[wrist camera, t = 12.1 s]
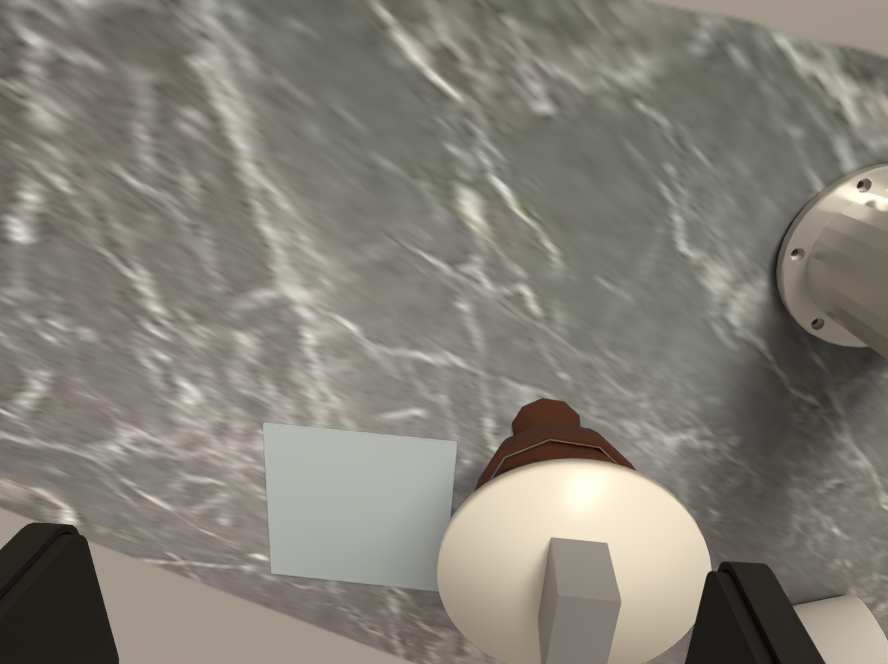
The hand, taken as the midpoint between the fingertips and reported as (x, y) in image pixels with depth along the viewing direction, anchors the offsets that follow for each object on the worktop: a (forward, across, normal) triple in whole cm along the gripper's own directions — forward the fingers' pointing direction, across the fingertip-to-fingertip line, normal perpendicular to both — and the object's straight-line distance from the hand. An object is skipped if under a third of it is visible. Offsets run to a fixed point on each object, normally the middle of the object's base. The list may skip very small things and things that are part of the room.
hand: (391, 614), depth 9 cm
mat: (+36, +8, +28) cm, 46 cm away
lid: (+20, -7, +18) cm, 28 cm away
